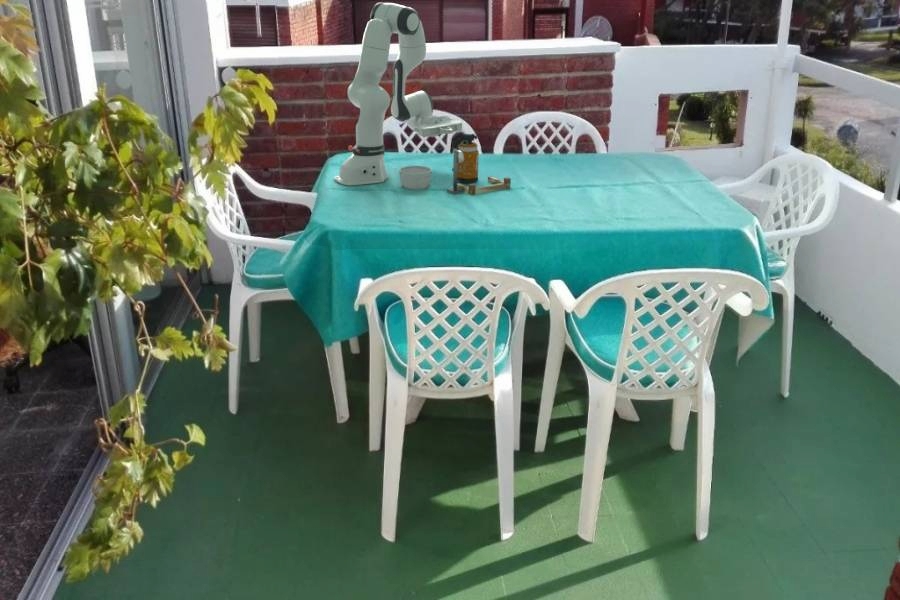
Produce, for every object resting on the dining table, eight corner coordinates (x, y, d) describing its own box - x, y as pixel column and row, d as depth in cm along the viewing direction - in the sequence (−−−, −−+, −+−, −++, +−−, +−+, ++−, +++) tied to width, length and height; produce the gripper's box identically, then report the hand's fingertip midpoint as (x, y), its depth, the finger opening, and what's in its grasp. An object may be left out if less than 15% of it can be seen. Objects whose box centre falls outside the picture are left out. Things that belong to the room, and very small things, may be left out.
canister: (478, 184, 345) (479, 136, 337) (451, 184, 345) (451, 135, 337) (477, 178, 353) (478, 131, 345) (451, 178, 353) (452, 130, 345)
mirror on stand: (453, 194, 331) (453, 151, 324) (446, 191, 335) (446, 148, 328) (465, 192, 334) (466, 149, 327) (458, 189, 338) (459, 146, 331)
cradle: (452, 187, 340) (452, 178, 338) (491, 180, 350) (491, 171, 349) (471, 195, 330) (471, 185, 329) (510, 187, 340) (510, 178, 339)
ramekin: (427, 191, 335) (427, 174, 332) (395, 189, 337) (395, 172, 334) (434, 183, 347) (434, 166, 344) (403, 181, 349) (403, 164, 346)
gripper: (411, 122, 355) (429, 127, 344) (451, 115, 365) (469, 121, 355) (411, 136, 357) (429, 142, 347) (451, 130, 368) (469, 135, 357)
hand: (450, 131), depth 351 cm, fingers closed
